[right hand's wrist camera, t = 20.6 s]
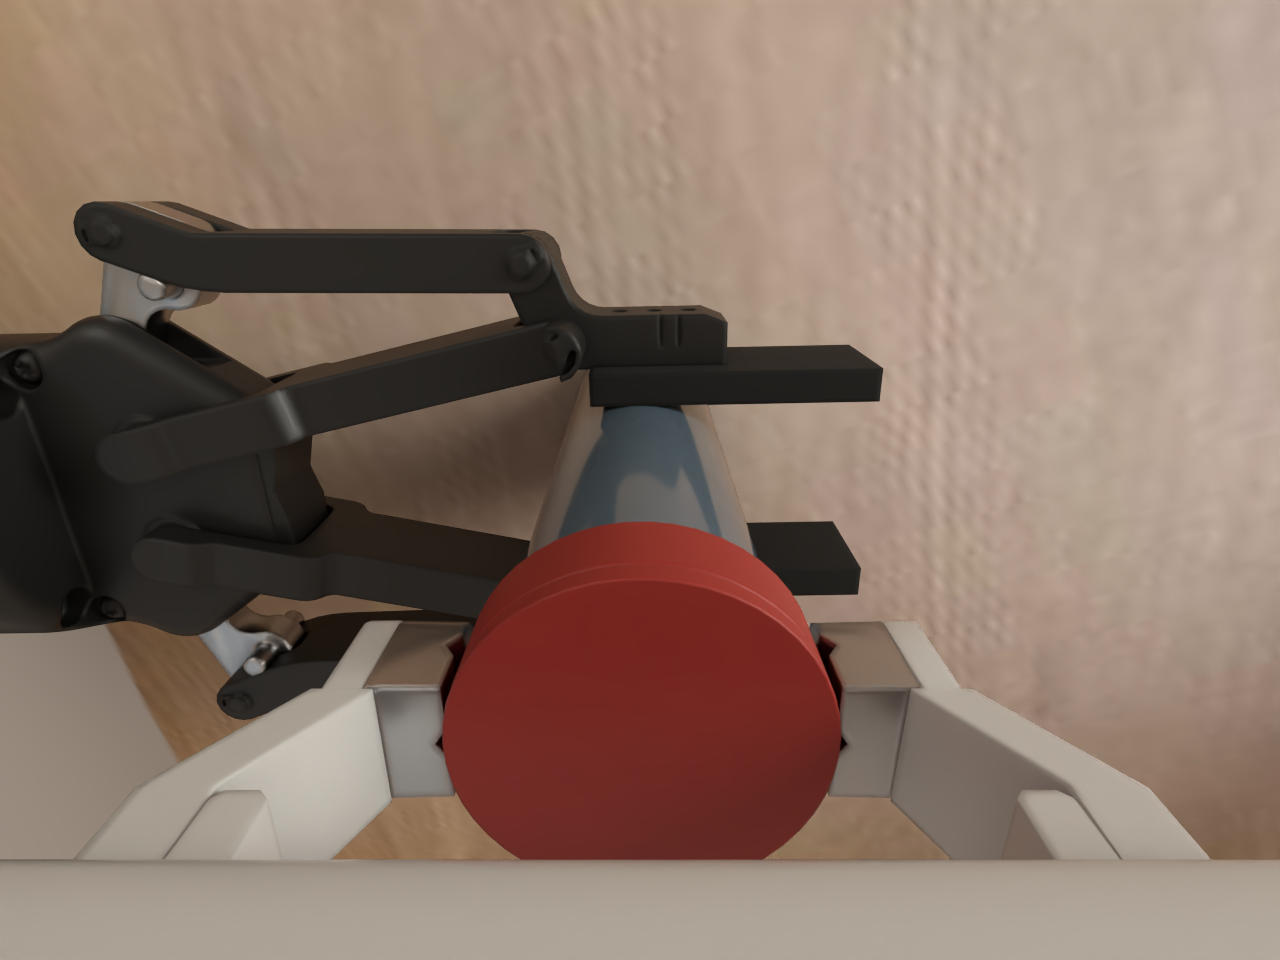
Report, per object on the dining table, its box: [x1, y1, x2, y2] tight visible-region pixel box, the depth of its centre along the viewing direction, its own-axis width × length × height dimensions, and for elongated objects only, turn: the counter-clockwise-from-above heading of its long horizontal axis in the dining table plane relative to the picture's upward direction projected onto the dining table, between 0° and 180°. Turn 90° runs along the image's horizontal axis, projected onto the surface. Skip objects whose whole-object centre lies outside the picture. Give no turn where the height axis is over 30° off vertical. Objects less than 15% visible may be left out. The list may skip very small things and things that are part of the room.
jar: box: [524, 369, 758, 560], centre depth 16 cm, size 4×4×15 cm
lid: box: [442, 522, 841, 860], centre depth 9 cm, size 5×5×2 cm
